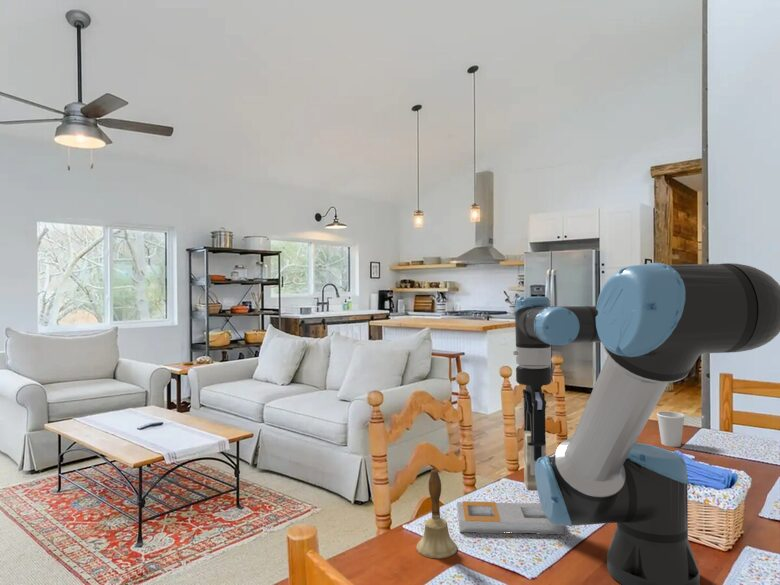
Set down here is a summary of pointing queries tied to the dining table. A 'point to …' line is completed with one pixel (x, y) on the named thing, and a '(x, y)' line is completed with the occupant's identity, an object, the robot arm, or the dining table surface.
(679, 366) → the robot arm
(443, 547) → the hand bell
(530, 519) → the grey board
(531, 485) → the peg
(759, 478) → the dining table surface
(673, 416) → the dixie cup
